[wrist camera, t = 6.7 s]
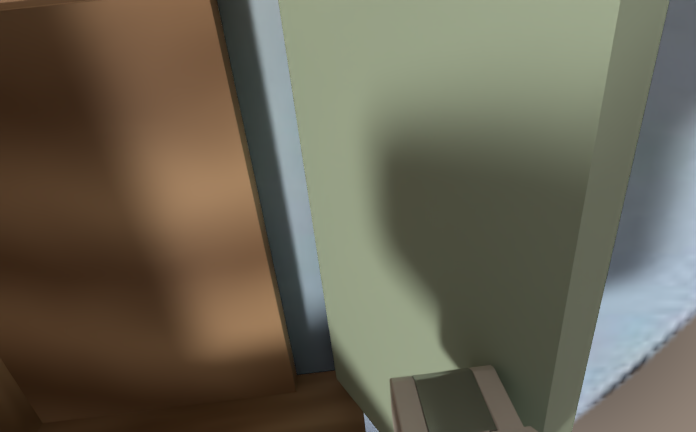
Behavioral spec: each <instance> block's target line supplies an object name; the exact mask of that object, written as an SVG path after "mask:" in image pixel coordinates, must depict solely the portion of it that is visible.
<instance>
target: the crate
mask: <svg viewBox="0 0 696 432" xmlns="http://www.w3.org/2000/svg"><path fill="white" fill-rule="evenodd" d="M0 432H366V431H365V422H364V413H363V411H362V410H361V408H360V407H359V406H358V405H357V403H356V402H355V401H354V400H353V398H352V397H351V396H350V395H349V393H348V392H347V391H346V390H345V389H344V387H343V386H342V385H341V384H340V382H339V381H338V380H337V378H336V371H326V372H318V373H310V374H302V375H297V373H296V368H295V363H294V359H293V354H292V349H291V345H290V340H289V335H288V331H287V326H286V321H285V317H284V312H283V307H282V303H281V298H280V293H279V289H278V284H277V279H276V275H275V270H274V265H273V261H272V256H271V251H270V246H269V242H268V237H267V232H266V228H265V223H264V218H263V214H262V209H261V204H260V200H259V195H258V190H257V186H256V181H255V176H254V172H253V167H252V162H251V158H250V153H249V148H248V144H247V139H246V134H245V130H244V125H243V120H242V116H241V111H240V106H239V102H238V97H237V92H236V88H235V83H234V78H233V74H232V69H231V64H230V60H229V55H228V50H227V46H226V41H225V36H224V32H223V27H222V22H221V18H220V13H219V8H218V4H217V0H0Z"/></svg>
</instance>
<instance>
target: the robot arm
mask: <svg viewBox="0 0 696 432" xmlns="http://www.w3.org/2000/svg"><path fill="white" fill-rule="evenodd" d="M389 381H390V398H391V412H392V420H393V428H394V432H538V431H537V430H535V429H534V428H532V427H531V426H526V427H524V426H523V424H522V422H521V420H520V418H519V416H518V414H517V412H516V410H515V408H514V406H513V404H512V402H511V400H510V398H509V396H508V394H507V392H506V390H505V388H504V386H503V384H502V382H501V380H500V378H499V376H498V374H497V372H496V370H495V368H494V367H493V366H491V365H486V366H478V367H471V368H461V369H455V370H448V371H441V372H434V373H428V374H419V375H412V376H403V377H395V378H390V380H389Z"/></svg>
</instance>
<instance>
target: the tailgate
mask: <svg viewBox="0 0 696 432" xmlns="http://www.w3.org/2000/svg"><path fill="white" fill-rule="evenodd" d="M278 2H279V8H280V15H281V21H282V28H283V34H284V41H285V47H286V54H287V60H288V66H289V73H290V79H291V86H292V92H293V99H294V105H295V112H296V118H297V125H298V131H299V138H300V144H301V151H302V157H303V164H304V170H305V177H306V183H307V190H308V196H309V203H310V209H311V216H312V222H313V229H314V235H315V242H316V248H317V255H318V261H319V267H320V274H321V280H322V287H323V293H324V300H325V306H326V313H327V319H328V326H329V332H330V339H331V345H332V352H333V358H334V365H335V371H336V378H337V380H338V381H339V382H340V384H341V385H342V386H343V387H344V389H345V390H346V391H347V392H348V393H349V395H350V396H351V397H352V398H353V400H354V401H355V402H356V403H357V405H358V406H359V407H360V408H361V410H362V411H363V412H364V413H365V415H366V416H367V417H368V418H369V420H370V421H371V422H372V423H373V425H374V426H375V427H376V428H377V430H378V431H379V432H394V428H393V420H392V412H391V398H390V381H389V380H390V378H395V377H403V376H412V375H419V374H428V373H434V372H441V371H448V370H455V369H461V368H471V367H478V366H486V365H491V366H493V367H494V368H495V370H496V372H497V374H498V376H499V378H500V380H501V382H502V384H503V386H504V388H505V390H506V392H507V394H508V396H509V398H510V400H511V402H512V404H513V406H514V408H515V410H516V412H517V414H518V416H519V418H520V420H521V422H522V424H523V426H524V427H526V426H531V427H532V428H534V429H535V430H537V431H538V432H572V427H573V424H574V419H575V415H576V410H577V406H578V402H579V397H580V393H581V388H582V384H583V380H584V375H585V371H586V366H587V362H588V358H589V353H590V349H591V344H592V340H593V336H594V331H595V327H596V322H597V318H598V313H599V309H600V305H601V300H602V296H603V291H604V287H605V283H606V278H607V274H608V269H609V265H610V261H611V256H612V252H613V247H614V243H615V238H616V234H617V230H618V225H619V221H620V216H621V212H622V208H623V203H624V199H625V194H626V190H627V186H628V181H629V177H630V172H631V168H632V164H633V159H634V155H635V150H636V146H637V141H638V137H639V133H640V128H641V124H642V119H643V115H644V111H645V106H646V102H647V97H648V93H649V89H650V84H651V80H652V75H653V71H654V67H655V62H656V58H657V53H658V49H659V44H660V40H661V36H662V31H663V27H664V22H665V18H666V14H667V9H668V5H669V0H278Z"/></svg>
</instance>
